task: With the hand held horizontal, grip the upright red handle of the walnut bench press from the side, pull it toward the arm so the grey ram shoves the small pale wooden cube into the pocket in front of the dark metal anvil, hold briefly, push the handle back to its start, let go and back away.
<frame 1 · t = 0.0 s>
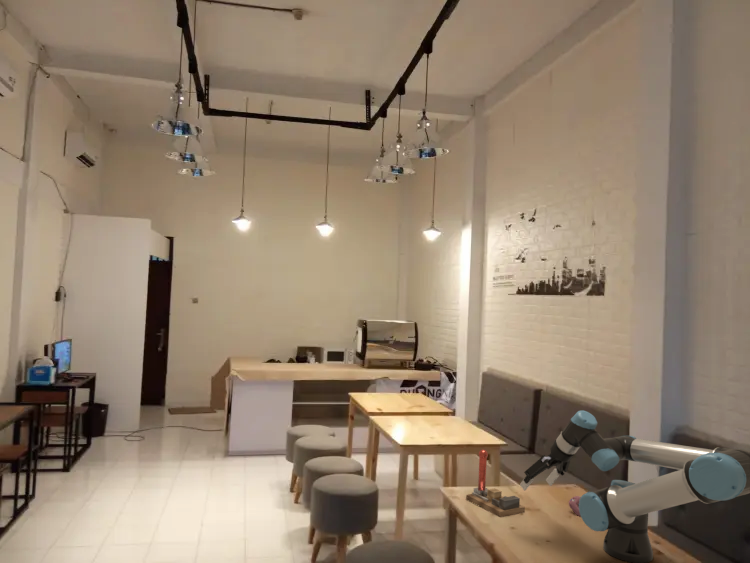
hand: (535, 485, 202), 15 cm above the table, tool tilted 35°, fingers open, 13 cm apart
press lever: (485, 472, 227), point 11 cm above the table, slide at 0.0 cm
press bed: (494, 505, 221), on the table
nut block: (494, 500, 221), point 2 cm above the table, touching press bed
video game controller: (579, 512, 219), on the table
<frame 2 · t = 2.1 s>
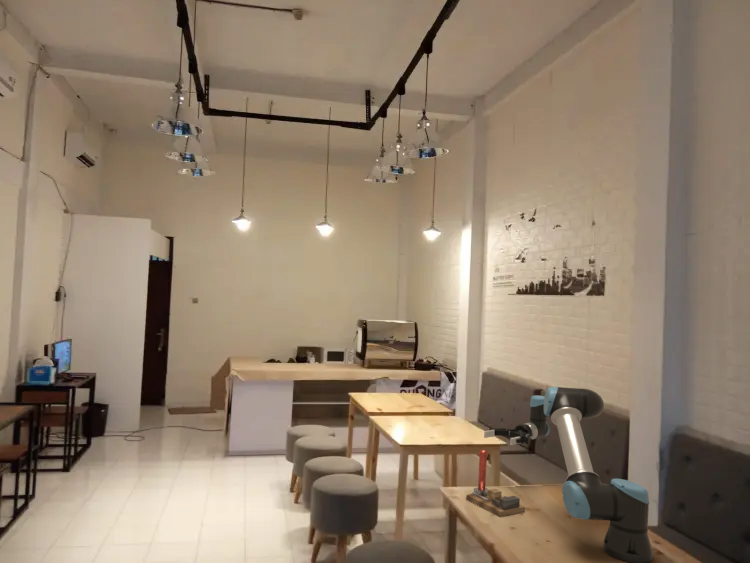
hand: (497, 438, 235), 24 cm above the table, tool horizontal, fingers open, 13 cm apart
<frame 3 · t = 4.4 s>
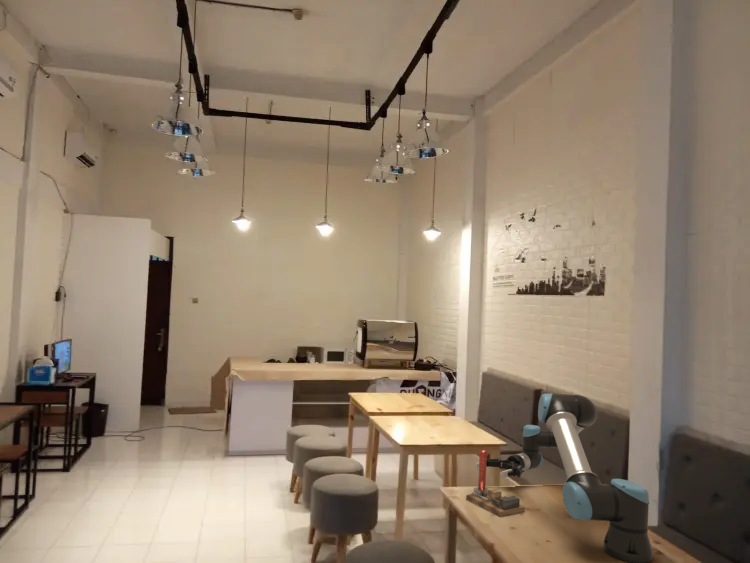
hand: (488, 470, 232), 11 cm above the table, tool horizontal, fingers open, 13 cm apart
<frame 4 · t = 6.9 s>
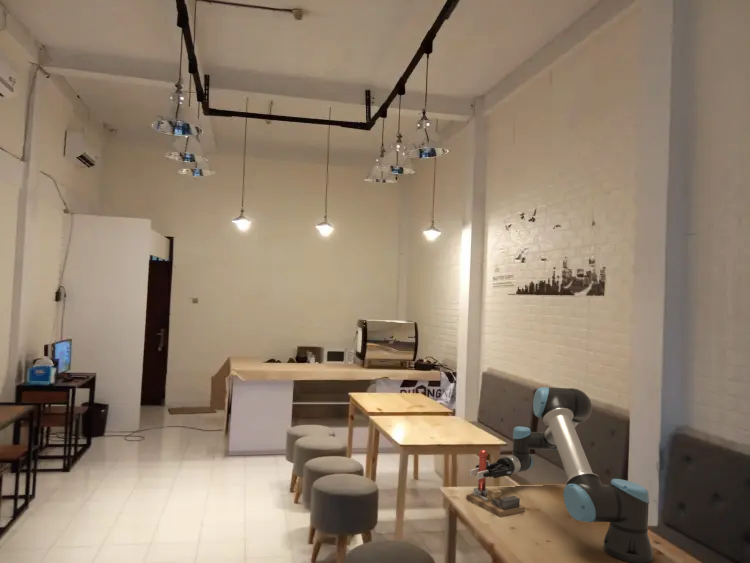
hand: (474, 474, 225), 11 cm above the table, tool horizontal, fingers closed on press lever, 3 cm apart
press lever: (485, 472, 227), point 11 cm above the table, slide at 0.0 cm, touching gripper
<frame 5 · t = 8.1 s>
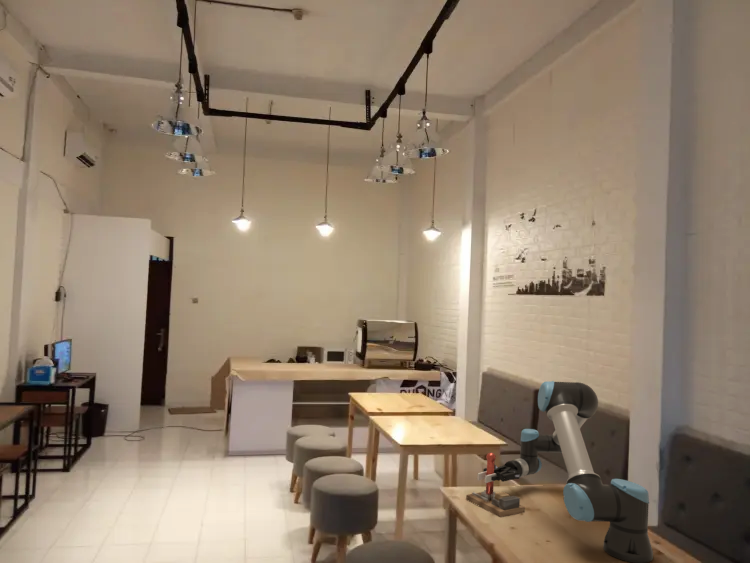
hand: (481, 478, 220), 11 cm above the table, tool horizontal, fingers closed on press lever, 3 cm apart
press lever: (493, 476, 223), point 11 cm above the table, slide at 4.7 cm, touching gripper, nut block
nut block: (501, 504, 218), point 2 cm above the table, touching press bed, press lever
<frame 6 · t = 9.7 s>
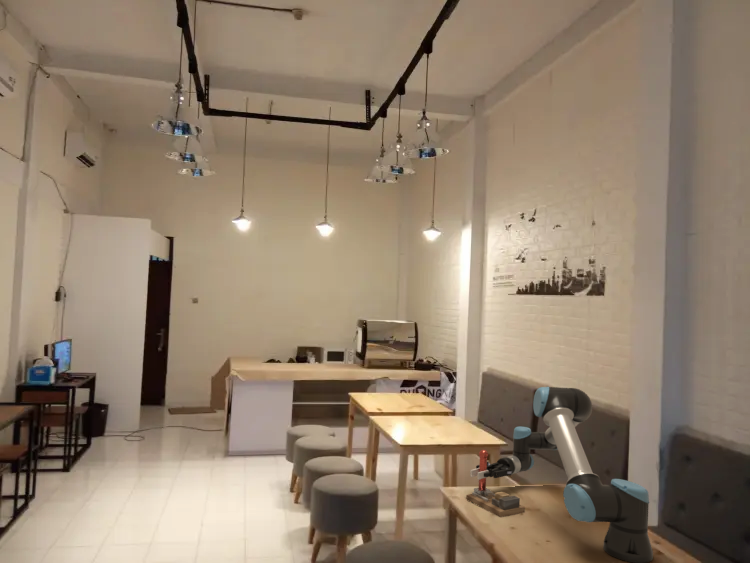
hand: (474, 474, 224), 11 cm above the table, tool horizontal, fingers closed on press lever, 3 cm apart
press lever: (485, 472, 227), point 11 cm above the table, slide at 0.2 cm, touching gripper
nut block: (501, 504, 218), point 2 cm above the table, touching press bed
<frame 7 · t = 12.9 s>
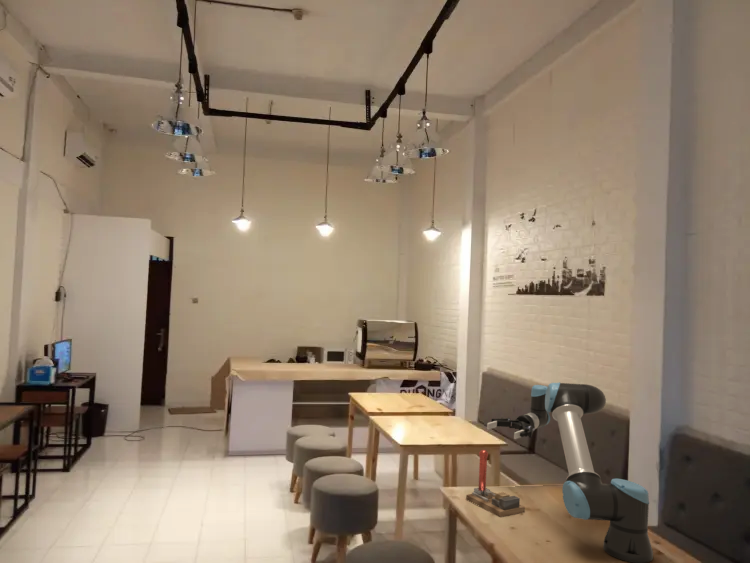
hand: (500, 431, 234), 28 cm above the table, tool horizontal, fingers open, 13 cm apart
press lever: (485, 472, 227), point 11 cm above the table, slide at 0.2 cm
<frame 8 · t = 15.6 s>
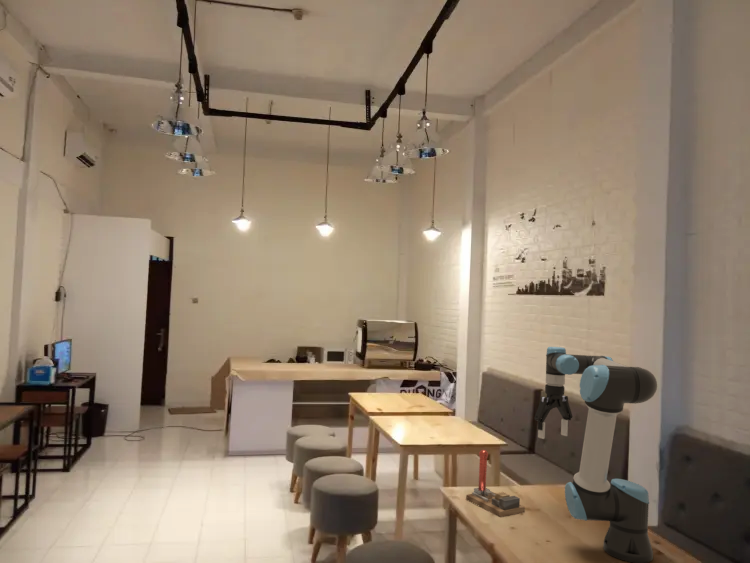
hand: (552, 436, 223), 29 cm above the table, tool pointing down, fingers open, 13 cm apart
at the end: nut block 0.3 cm from the target spot, point 2.0 cm above the table; press lever slide at 0.2 cm; the gripper is holding nothing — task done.
